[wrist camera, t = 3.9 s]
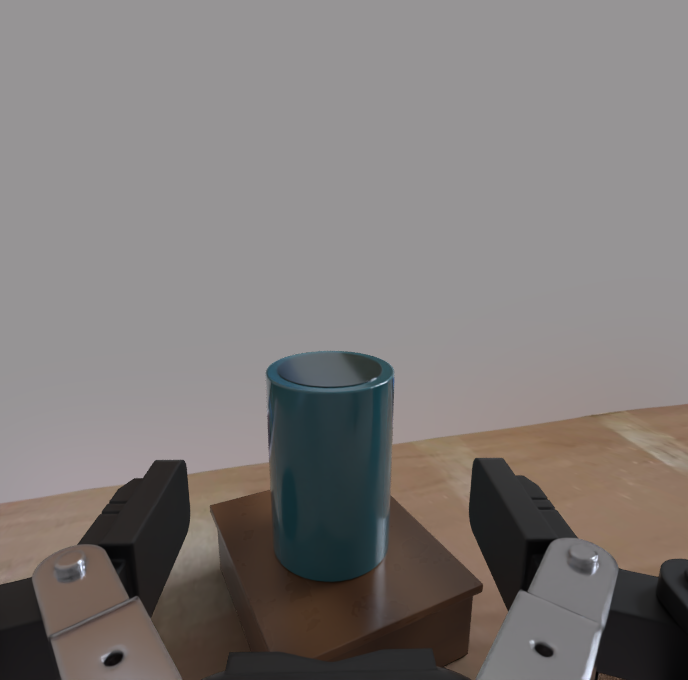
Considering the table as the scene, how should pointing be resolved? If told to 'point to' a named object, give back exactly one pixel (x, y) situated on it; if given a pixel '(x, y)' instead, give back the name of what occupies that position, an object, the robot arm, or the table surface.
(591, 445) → the table surface
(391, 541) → the riser
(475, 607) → the table surface
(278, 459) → the tumbler
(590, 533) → the table surface
